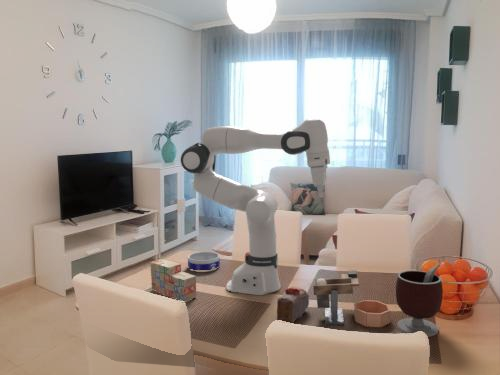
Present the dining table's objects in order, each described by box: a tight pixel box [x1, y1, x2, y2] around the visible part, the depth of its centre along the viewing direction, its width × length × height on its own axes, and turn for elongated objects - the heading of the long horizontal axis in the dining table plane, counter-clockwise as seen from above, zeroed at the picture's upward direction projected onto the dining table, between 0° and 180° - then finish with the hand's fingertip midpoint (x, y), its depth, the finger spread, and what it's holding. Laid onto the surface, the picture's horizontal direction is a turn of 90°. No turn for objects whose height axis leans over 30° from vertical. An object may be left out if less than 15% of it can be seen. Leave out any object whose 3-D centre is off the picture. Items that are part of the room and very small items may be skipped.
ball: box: [316, 277, 327, 285], centre depth 144 cm, size 4×4×4 cm
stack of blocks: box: [150, 258, 197, 301], centre depth 168 cm, size 21×6×12 cm, turn 48°
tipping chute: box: [312, 269, 360, 309], centre depth 149 cm, size 15×18×8 cm
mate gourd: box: [395, 263, 444, 338], centre depth 135 cm, size 16×14×20 cm
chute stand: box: [324, 289, 345, 326], centre depth 144 cm, size 6×11×11 cm, turn 170°
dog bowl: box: [187, 251, 221, 270], centre depth 202 cm, size 15×15×6 cm
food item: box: [276, 286, 310, 324], centre depth 146 cm, size 14×8×10 cm, turn 153°
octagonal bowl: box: [353, 299, 391, 328], centre depth 142 cm, size 11×11×4 cm
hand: (322, 195), depth 166 cm, fingers open, 8 cm apart
